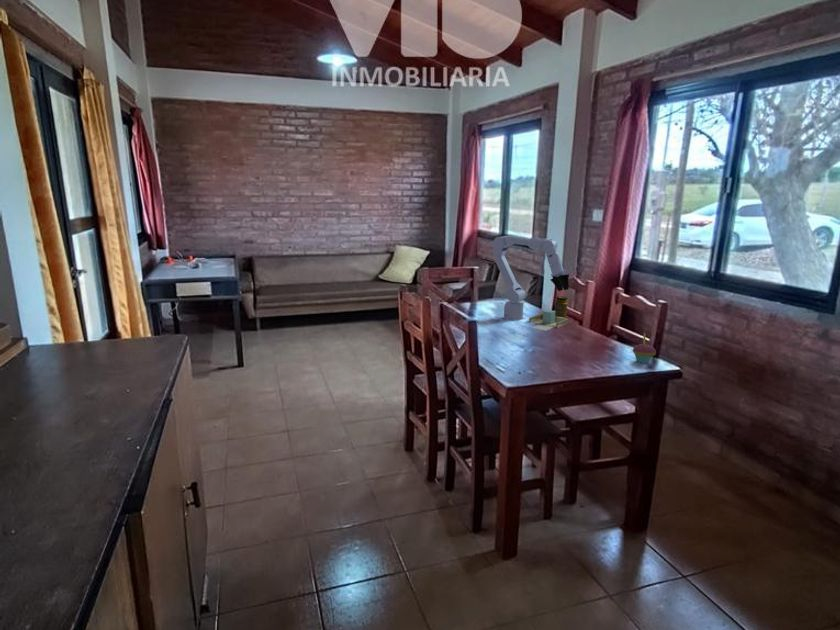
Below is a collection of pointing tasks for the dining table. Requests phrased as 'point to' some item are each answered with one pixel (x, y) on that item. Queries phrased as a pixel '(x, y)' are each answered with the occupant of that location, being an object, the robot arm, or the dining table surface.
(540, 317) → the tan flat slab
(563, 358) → the dining table surface
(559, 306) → the condiment
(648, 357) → the cupcake
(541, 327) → the coaster
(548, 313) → the block
